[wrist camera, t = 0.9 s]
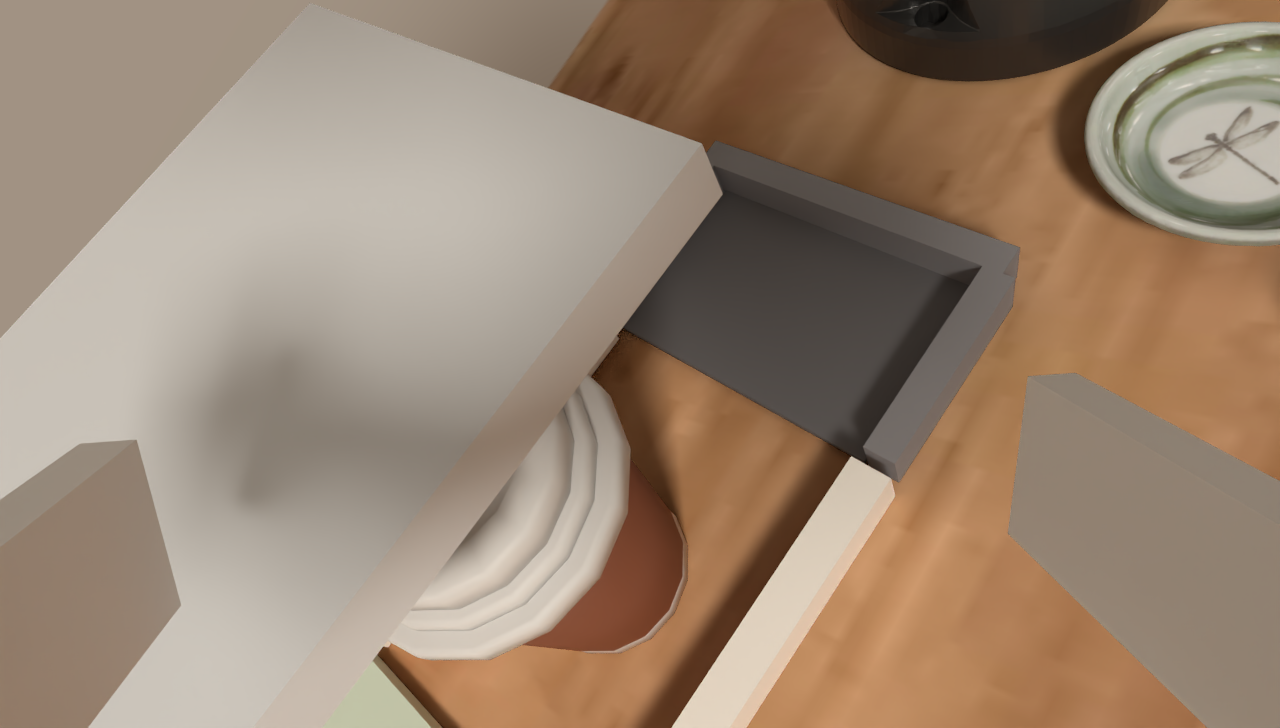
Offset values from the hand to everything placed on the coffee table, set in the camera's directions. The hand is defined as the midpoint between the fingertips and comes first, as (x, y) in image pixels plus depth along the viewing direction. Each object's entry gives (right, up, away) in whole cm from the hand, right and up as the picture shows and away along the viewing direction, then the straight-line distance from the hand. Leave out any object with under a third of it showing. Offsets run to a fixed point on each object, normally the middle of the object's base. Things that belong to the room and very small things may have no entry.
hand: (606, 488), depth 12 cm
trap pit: (+7, +4, +20) cm, 22 cm away
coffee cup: (-1, -6, +18) cm, 19 cm away
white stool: (-1, -6, +18) cm, 19 cm away
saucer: (+22, +9, +17) cm, 29 cm away
